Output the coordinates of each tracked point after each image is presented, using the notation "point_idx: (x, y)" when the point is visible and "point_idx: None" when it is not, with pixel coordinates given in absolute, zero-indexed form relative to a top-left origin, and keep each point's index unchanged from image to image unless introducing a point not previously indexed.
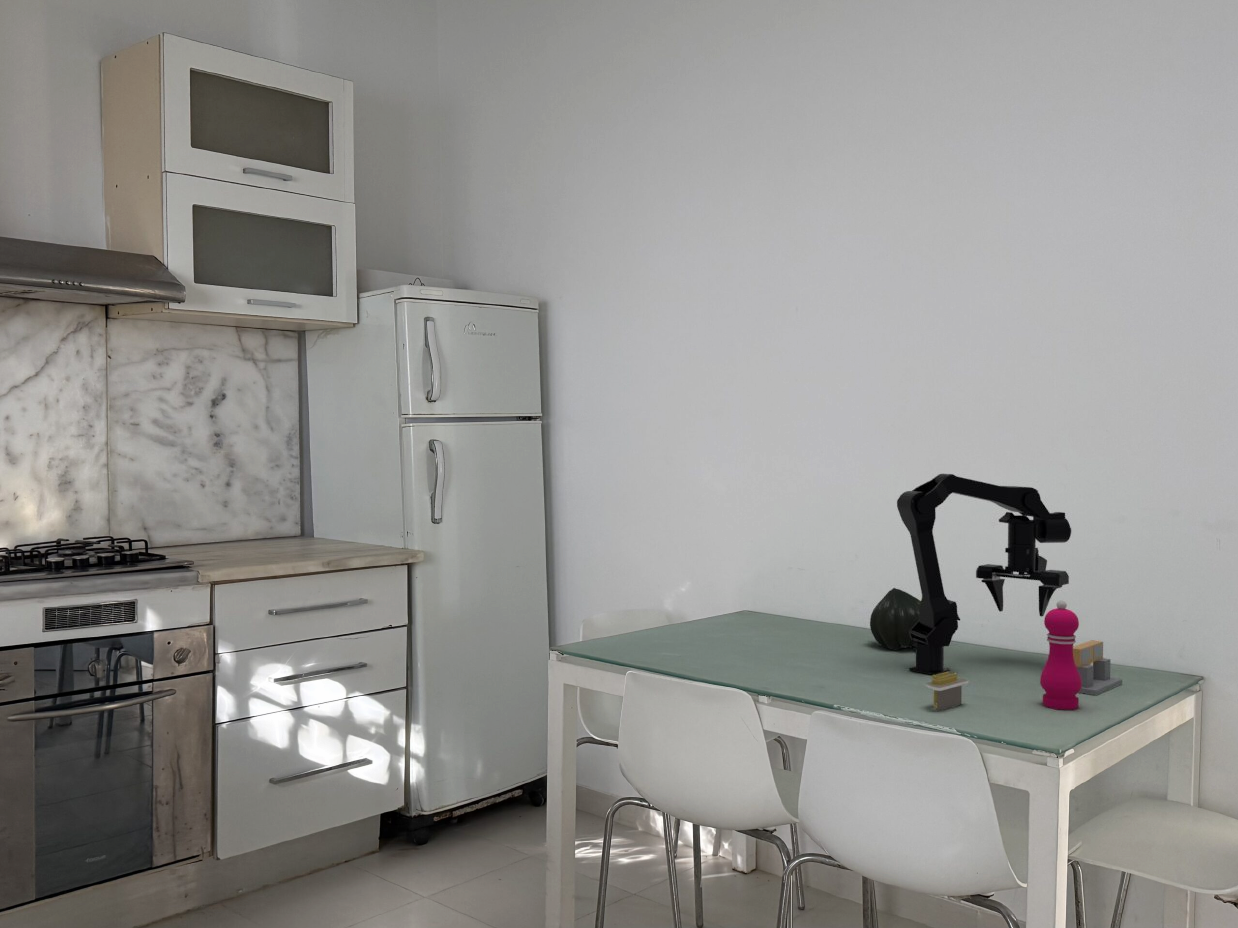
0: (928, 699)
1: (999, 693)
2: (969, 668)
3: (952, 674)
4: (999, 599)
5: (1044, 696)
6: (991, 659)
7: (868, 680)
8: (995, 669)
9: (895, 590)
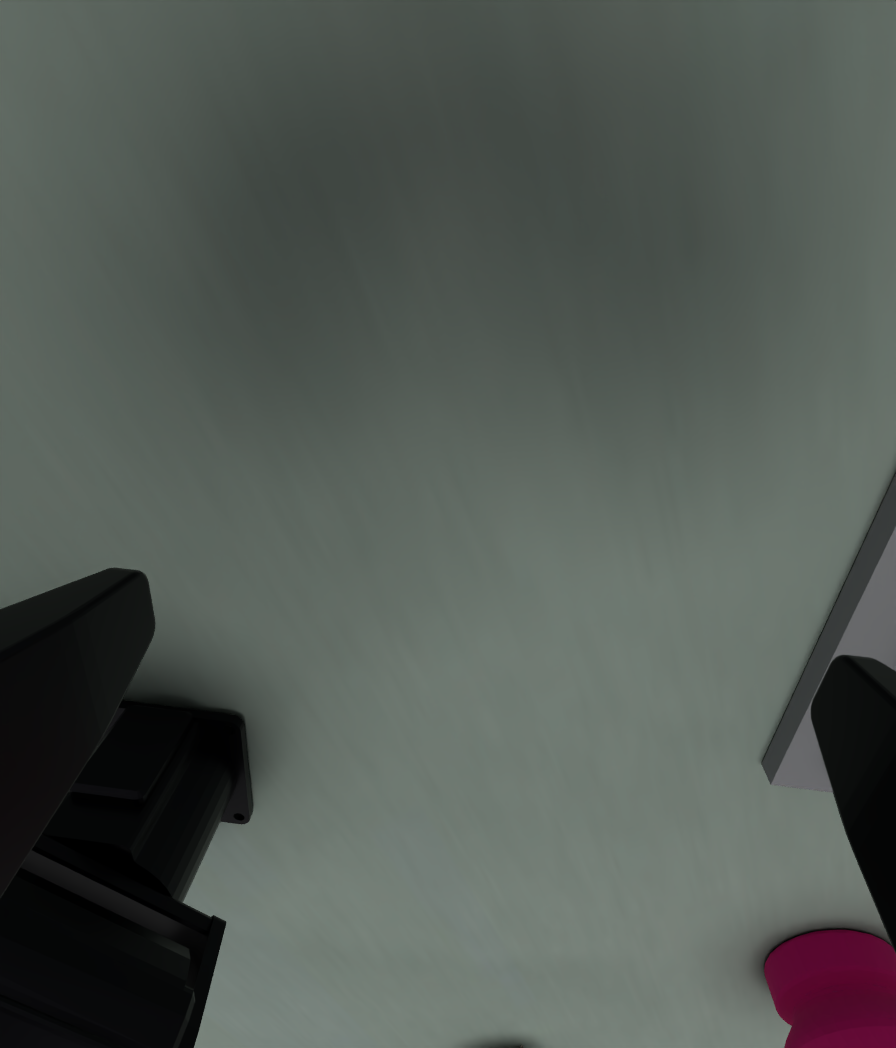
0: (420, 1040)
1: (583, 919)
2: (268, 600)
3: None
4: (11, 815)
5: (784, 1019)
6: (207, 222)
7: None
8: (388, 539)
9: None
